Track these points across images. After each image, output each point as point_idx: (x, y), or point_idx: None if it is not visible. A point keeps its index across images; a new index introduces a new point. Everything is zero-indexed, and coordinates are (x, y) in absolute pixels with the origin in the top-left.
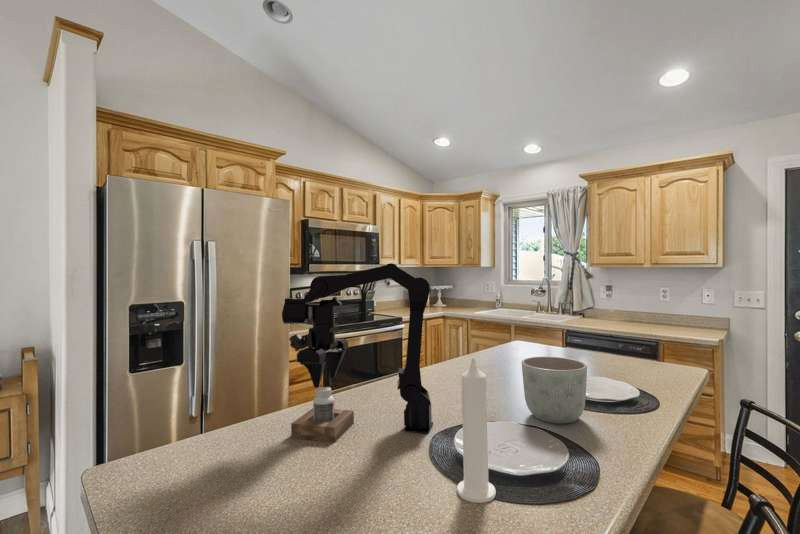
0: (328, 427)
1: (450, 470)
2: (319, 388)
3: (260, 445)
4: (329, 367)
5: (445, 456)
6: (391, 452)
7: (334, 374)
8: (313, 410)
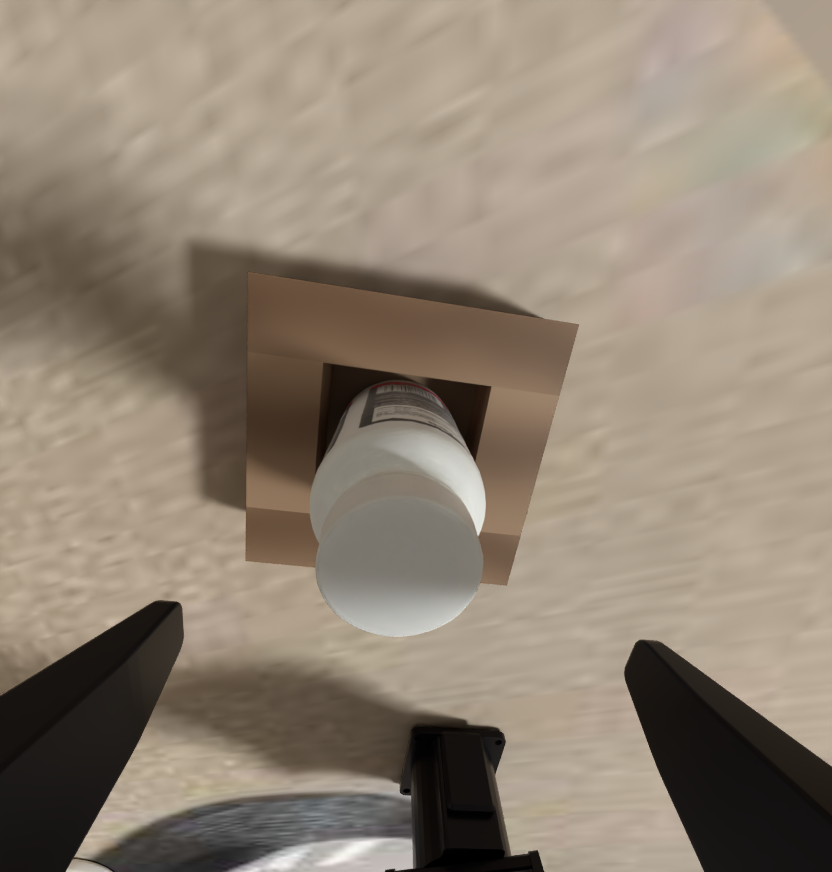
0: (247, 526)
1: (165, 841)
2: (418, 526)
3: (126, 110)
4: (778, 795)
5: (244, 828)
6: (231, 713)
7: (645, 731)
8: (360, 412)
